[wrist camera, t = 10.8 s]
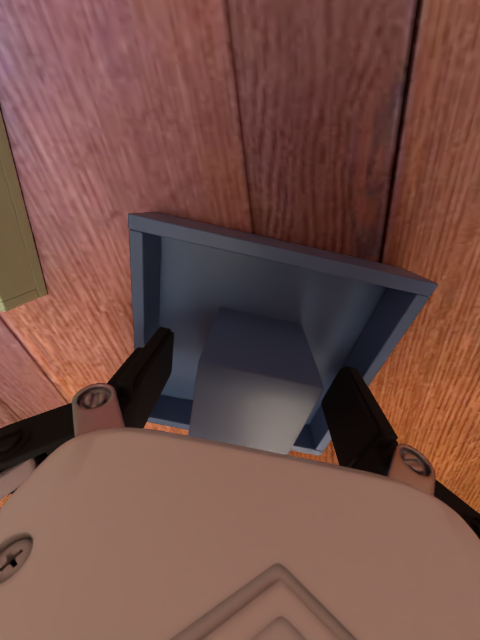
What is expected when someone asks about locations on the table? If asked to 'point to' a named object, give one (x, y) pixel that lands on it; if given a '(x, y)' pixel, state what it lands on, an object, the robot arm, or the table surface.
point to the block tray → (263, 303)
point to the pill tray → (15, 238)
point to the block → (254, 382)
